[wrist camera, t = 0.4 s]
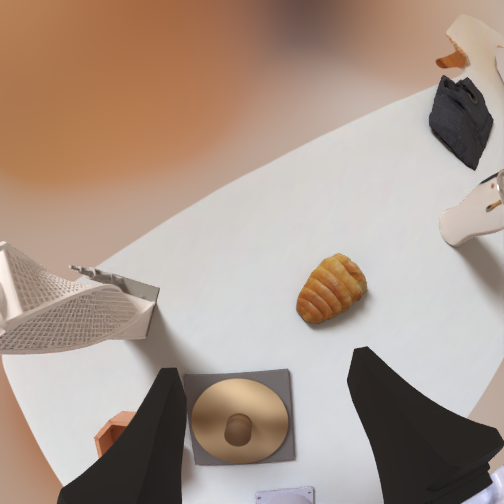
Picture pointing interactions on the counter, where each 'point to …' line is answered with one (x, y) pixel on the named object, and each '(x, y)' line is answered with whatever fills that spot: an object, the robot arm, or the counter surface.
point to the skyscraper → (67, 307)
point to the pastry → (331, 289)
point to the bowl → (112, 431)
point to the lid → (239, 420)
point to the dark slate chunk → (461, 119)
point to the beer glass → (475, 212)
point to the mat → (271, 378)
